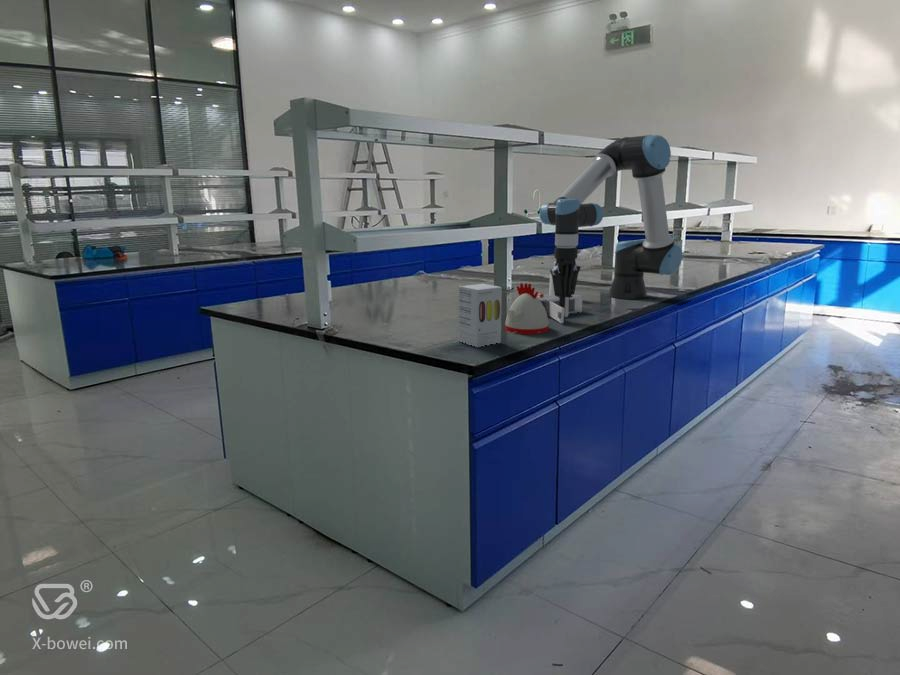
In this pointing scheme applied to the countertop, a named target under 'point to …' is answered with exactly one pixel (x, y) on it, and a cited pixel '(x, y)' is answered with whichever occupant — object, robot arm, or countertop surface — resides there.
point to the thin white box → (556, 312)
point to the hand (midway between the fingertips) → (563, 316)
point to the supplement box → (480, 314)
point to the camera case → (574, 302)
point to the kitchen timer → (527, 313)
